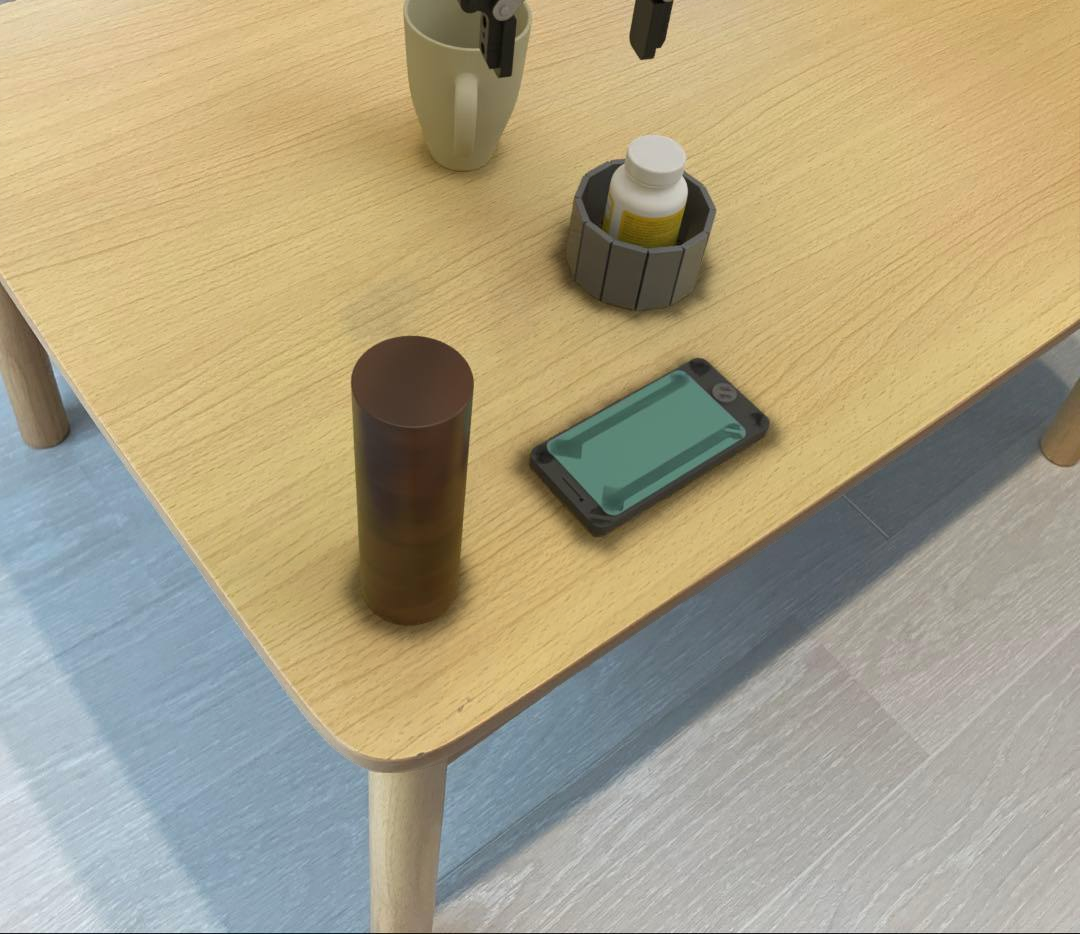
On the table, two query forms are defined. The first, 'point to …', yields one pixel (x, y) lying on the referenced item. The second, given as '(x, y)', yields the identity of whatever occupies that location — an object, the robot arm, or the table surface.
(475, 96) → the mug
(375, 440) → the brown metal stand
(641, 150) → the supplement bottle
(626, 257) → the grey ring
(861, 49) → the table surface
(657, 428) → the smartphone
